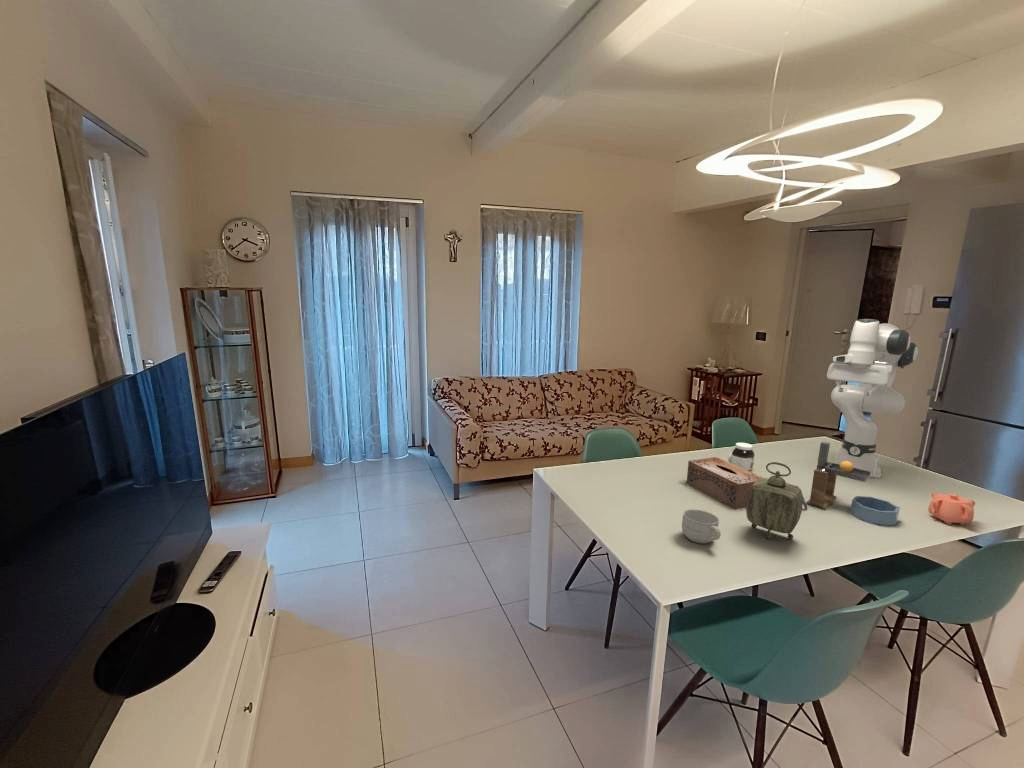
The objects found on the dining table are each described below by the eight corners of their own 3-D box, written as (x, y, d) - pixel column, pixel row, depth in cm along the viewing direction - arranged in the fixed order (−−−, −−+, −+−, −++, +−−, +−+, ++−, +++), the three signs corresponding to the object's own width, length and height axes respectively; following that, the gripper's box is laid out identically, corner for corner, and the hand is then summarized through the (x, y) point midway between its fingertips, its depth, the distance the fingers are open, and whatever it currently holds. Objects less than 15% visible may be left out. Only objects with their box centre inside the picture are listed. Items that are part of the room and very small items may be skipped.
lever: (821, 466, 178) (825, 439, 176) (870, 478, 167) (874, 449, 165) (813, 472, 172) (817, 444, 170) (863, 485, 161) (868, 455, 159)
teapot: (928, 509, 170) (933, 485, 169) (973, 521, 161) (978, 495, 160) (922, 519, 163) (927, 493, 161) (969, 532, 154) (974, 504, 152)
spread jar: (744, 474, 202) (747, 449, 200) (719, 466, 211) (722, 442, 209) (757, 468, 209) (760, 444, 207) (733, 461, 218) (736, 438, 216)
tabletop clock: (797, 539, 148) (808, 465, 143) (791, 550, 141) (802, 473, 136) (749, 524, 157) (757, 454, 153) (741, 533, 151) (749, 461, 146)
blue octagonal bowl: (856, 505, 173) (858, 493, 172) (899, 518, 163) (902, 504, 162) (846, 515, 164) (849, 502, 163) (892, 529, 155) (894, 515, 154)
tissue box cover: (686, 483, 192) (688, 460, 190) (713, 479, 197) (715, 456, 195) (735, 510, 168) (738, 484, 166) (765, 504, 173) (768, 479, 171)
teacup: (675, 530, 152) (677, 508, 150) (706, 529, 153) (708, 507, 151) (695, 553, 138) (697, 529, 137) (729, 552, 139) (732, 528, 138)
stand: (818, 494, 182) (823, 460, 180) (836, 499, 178) (841, 464, 175) (806, 504, 173) (811, 469, 170) (824, 510, 168) (830, 474, 166)
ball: (840, 468, 171) (842, 458, 170) (853, 471, 168) (855, 461, 168) (837, 471, 169) (839, 461, 168) (850, 474, 166) (852, 464, 165)
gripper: (895, 362, 178) (888, 398, 179) (832, 357, 193) (827, 389, 194) (892, 362, 173) (885, 398, 175) (828, 356, 188) (822, 390, 190)
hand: (854, 393), depth 185 cm, fingers open, 8 cm apart
